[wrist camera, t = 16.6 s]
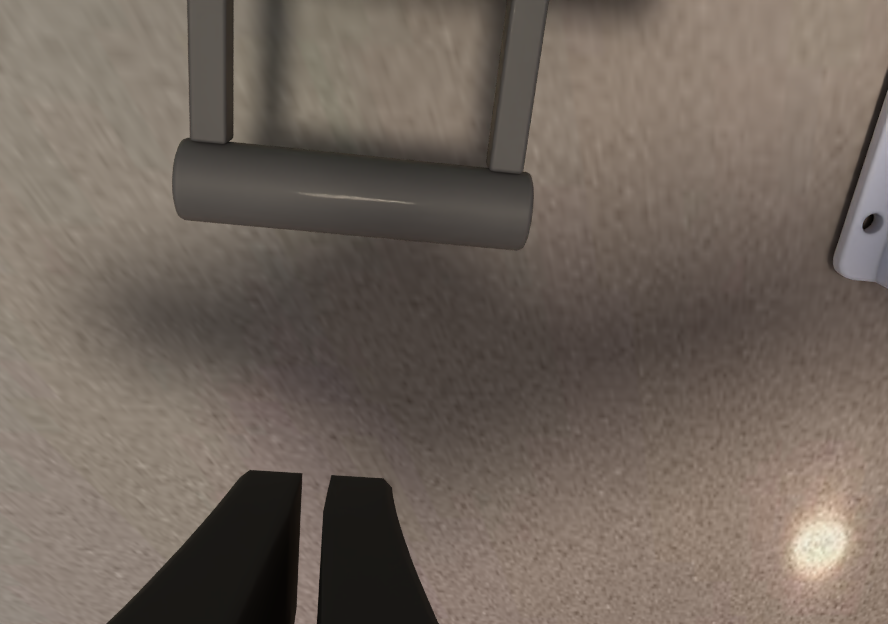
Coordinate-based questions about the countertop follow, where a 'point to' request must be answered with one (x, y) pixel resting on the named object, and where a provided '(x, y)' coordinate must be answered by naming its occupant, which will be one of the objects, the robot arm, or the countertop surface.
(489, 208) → the drawer
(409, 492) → the countertop surface
